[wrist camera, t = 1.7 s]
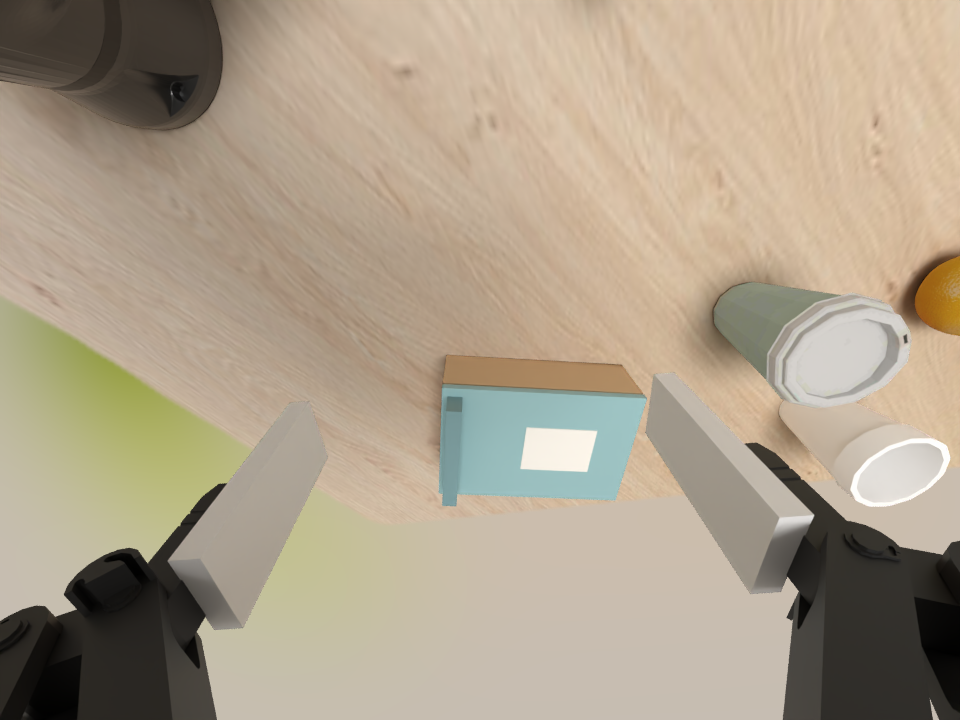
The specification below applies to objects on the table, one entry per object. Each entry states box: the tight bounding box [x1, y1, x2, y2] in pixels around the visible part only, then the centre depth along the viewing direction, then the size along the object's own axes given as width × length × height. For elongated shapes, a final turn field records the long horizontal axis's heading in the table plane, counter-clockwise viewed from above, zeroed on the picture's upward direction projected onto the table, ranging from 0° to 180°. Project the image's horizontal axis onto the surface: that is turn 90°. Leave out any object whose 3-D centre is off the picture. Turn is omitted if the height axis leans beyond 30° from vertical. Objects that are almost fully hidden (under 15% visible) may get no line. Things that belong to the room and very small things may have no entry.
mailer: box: [443, 355, 643, 395], centre depth 48 cm, size 22×15×7 cm
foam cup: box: [779, 400, 950, 506], centre depth 46 cm, size 10×9×13 cm
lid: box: [439, 384, 647, 506], centre depth 43 cm, size 22×15×4 cm
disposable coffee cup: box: [713, 282, 912, 408], centre depth 39 cm, size 11×11×15 cm
